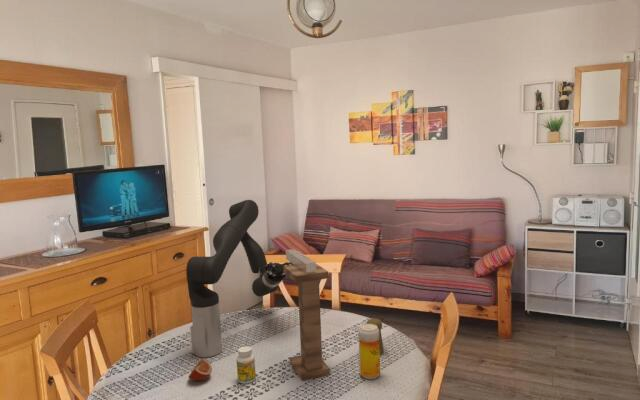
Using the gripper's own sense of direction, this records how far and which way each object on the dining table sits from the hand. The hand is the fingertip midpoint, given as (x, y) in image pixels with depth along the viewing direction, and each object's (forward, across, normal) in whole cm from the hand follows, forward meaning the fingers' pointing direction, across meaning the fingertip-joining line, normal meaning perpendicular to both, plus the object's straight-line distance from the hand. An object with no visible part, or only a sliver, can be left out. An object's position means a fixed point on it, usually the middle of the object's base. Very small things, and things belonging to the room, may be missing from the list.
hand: (283, 263), depth 165 cm
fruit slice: (-1, -32, +32) cm, 45 cm away
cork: (+5, +24, +36) cm, 43 cm away
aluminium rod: (+18, 0, +6) cm, 19 cm away
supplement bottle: (+5, -20, +35) cm, 41 cm away
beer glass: (+16, +15, +42) cm, 48 cm away
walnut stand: (+7, 0, +36) cm, 37 cm away
